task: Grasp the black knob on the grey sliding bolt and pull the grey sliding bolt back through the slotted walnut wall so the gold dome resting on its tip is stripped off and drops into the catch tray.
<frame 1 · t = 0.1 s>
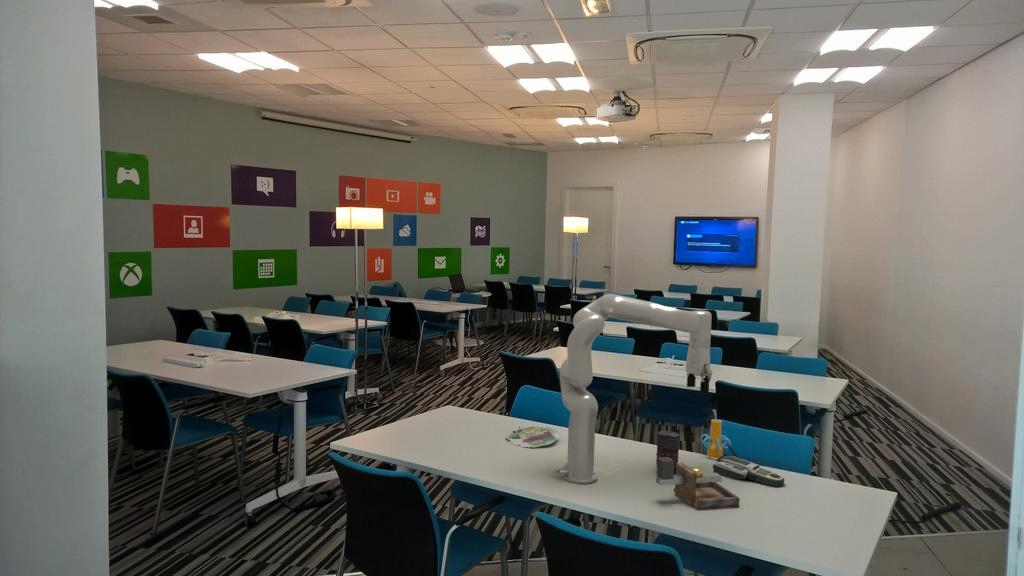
hand: (697, 389, 236), 31 cm above the table, tool pointing down, fingers open, 9 cm apart
guide frame: (684, 500, 210), on the table
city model: (531, 441, 271), on the table
camera lens: (666, 473, 236), on the table
orange vase with handles: (714, 457, 255), on the table
grey sliding bolt: (689, 469, 210), point 10 cm above the table, slide at 0.0 cm, touching gold dome
gold dome: (696, 475, 210), point 8 cm above the table, touching grey sliding bolt
communication device: (749, 479, 233), on the table
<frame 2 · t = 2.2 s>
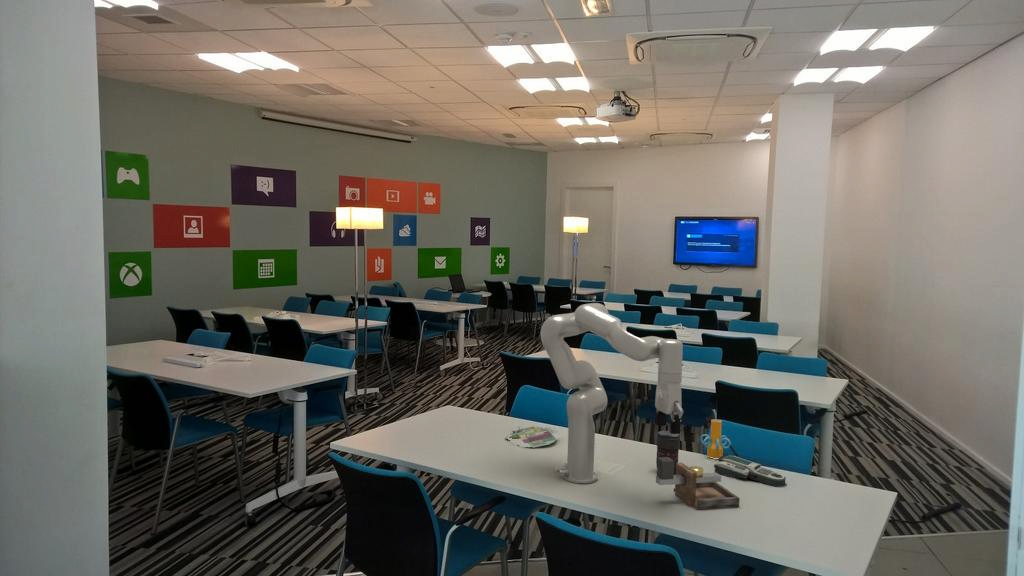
hand: (668, 429, 207), 24 cm above the table, tool pointing down, fingers open, 9 cm apart
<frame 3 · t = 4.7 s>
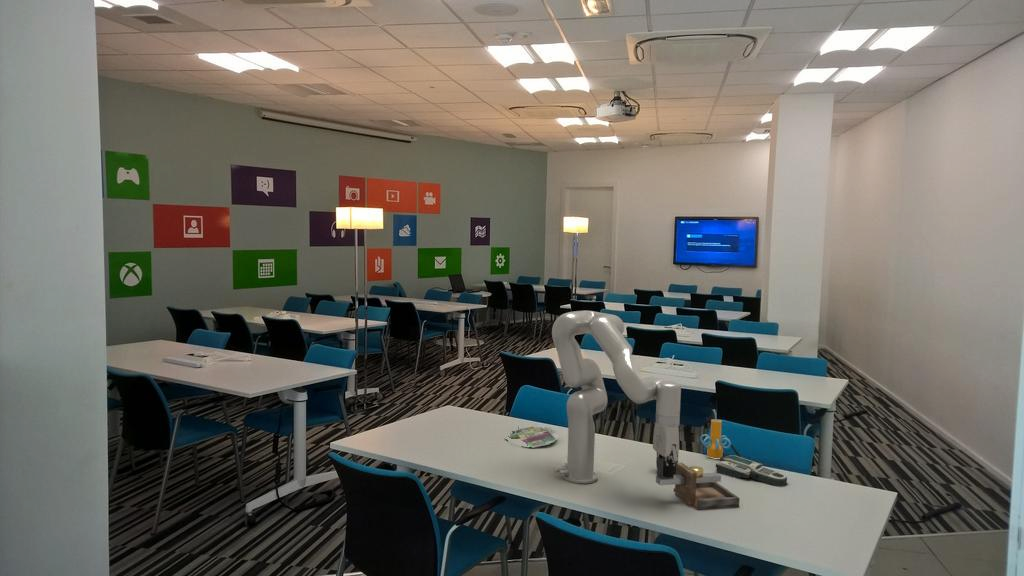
hand: (665, 473, 208), 9 cm above the table, tool pointing down, fingers closed on grey sliding bolt, 4 cm apart
grey sliding bolt: (689, 469, 210), point 10 cm above the table, slide at 0.0 cm, touching gripper, gold dome
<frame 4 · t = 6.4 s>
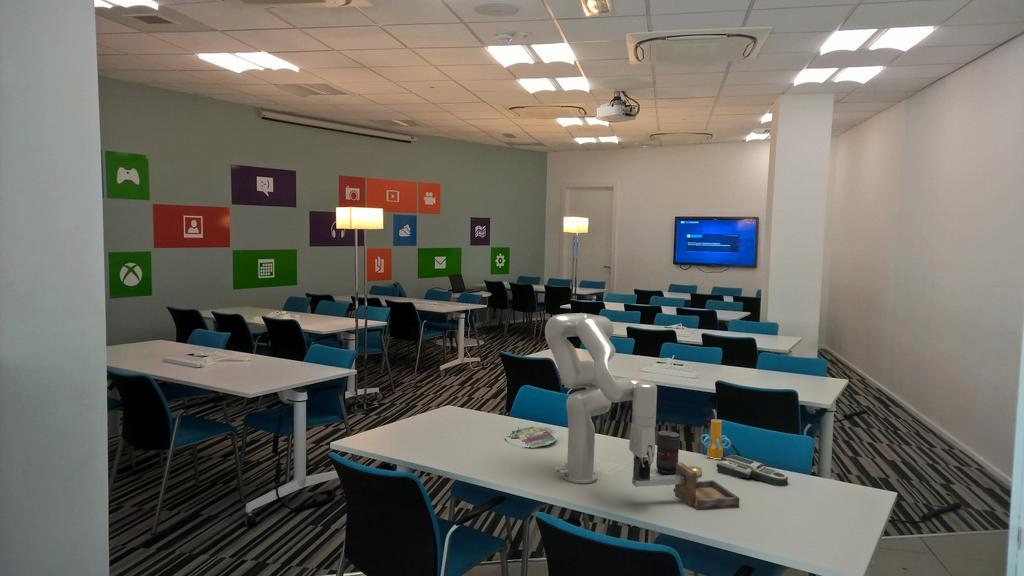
hand: (641, 475, 206), 9 cm above the table, tool pointing down, fingers closed on grey sliding bolt, 4 cm apart
grey sliding bolt: (665, 471, 208), point 10 cm above the table, slide at 8.4 cm, touching gripper, gold dome
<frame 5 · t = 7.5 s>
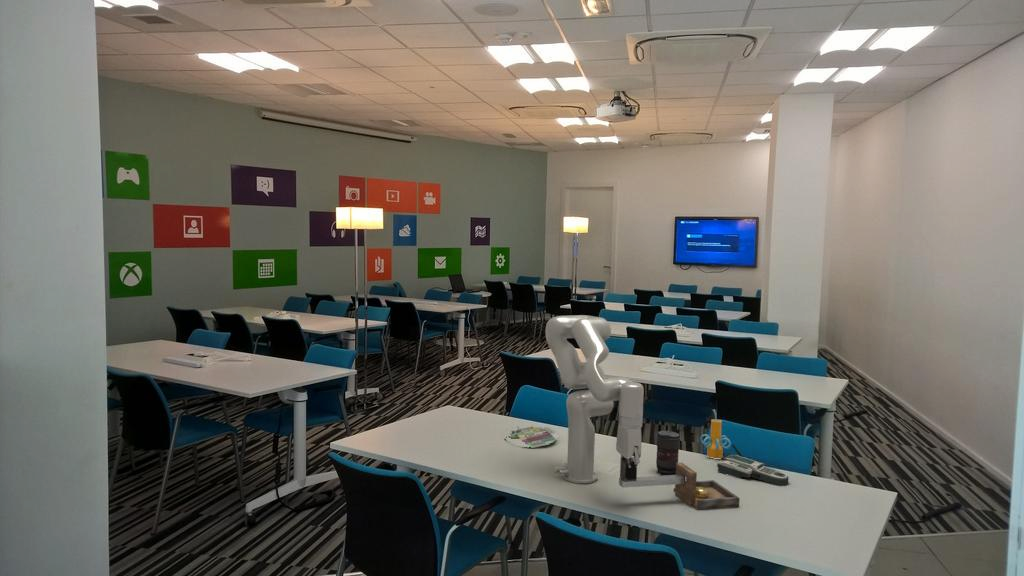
hand: (628, 476, 205), 9 cm above the table, tool pointing down, fingers closed on grey sliding bolt, 4 cm apart
grey sliding bolt: (652, 471, 207), point 10 cm above the table, slide at 13.0 cm, touching gripper
gold dome: (701, 489, 211), point 3 cm above the table, tilted 178°, touching guide frame
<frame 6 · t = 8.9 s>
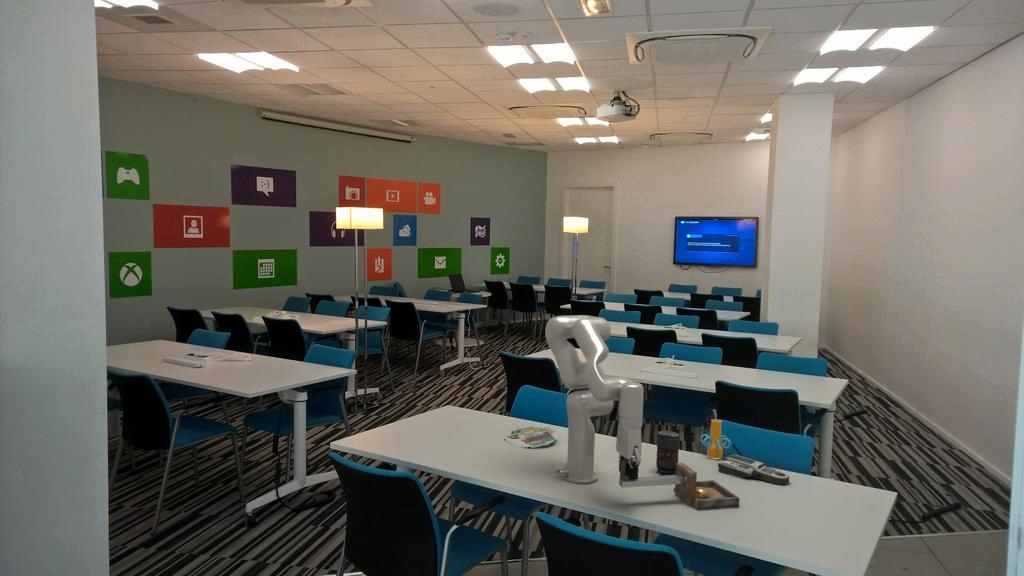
hand: (628, 474, 205), 10 cm above the table, tool pointing down, fingers open, 6 cm apart
grey sliding bolt: (652, 471, 207), point 10 cm above the table, slide at 13.0 cm
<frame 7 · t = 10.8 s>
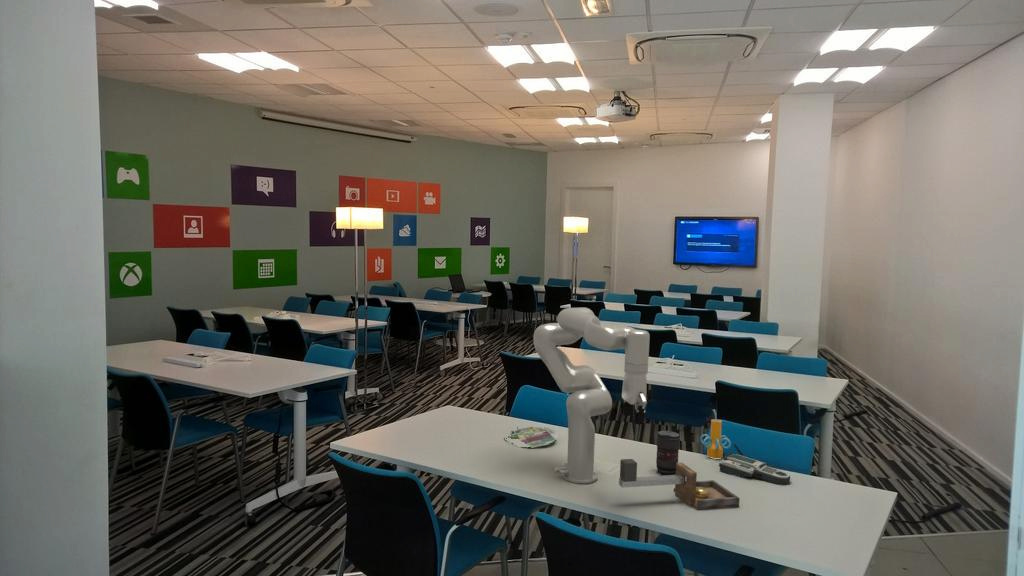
hand: (633, 419, 207), 27 cm above the table, tool pointing down, fingers open, 9 cm apart
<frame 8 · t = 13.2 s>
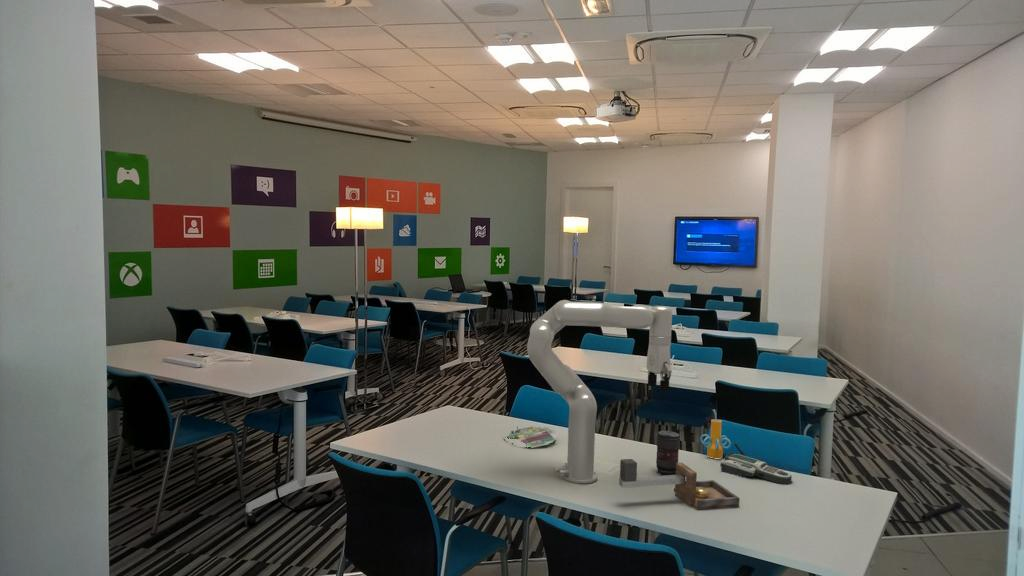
hand: (658, 388, 226), 33 cm above the table, tool pointing down, fingers open, 9 cm apart
at the end: grey sliding bolt slide at 13.0 cm; gold dome inside the target area (2.2 cm from its centre), point 3.4 cm above the table; gold dome touching guide frame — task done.
